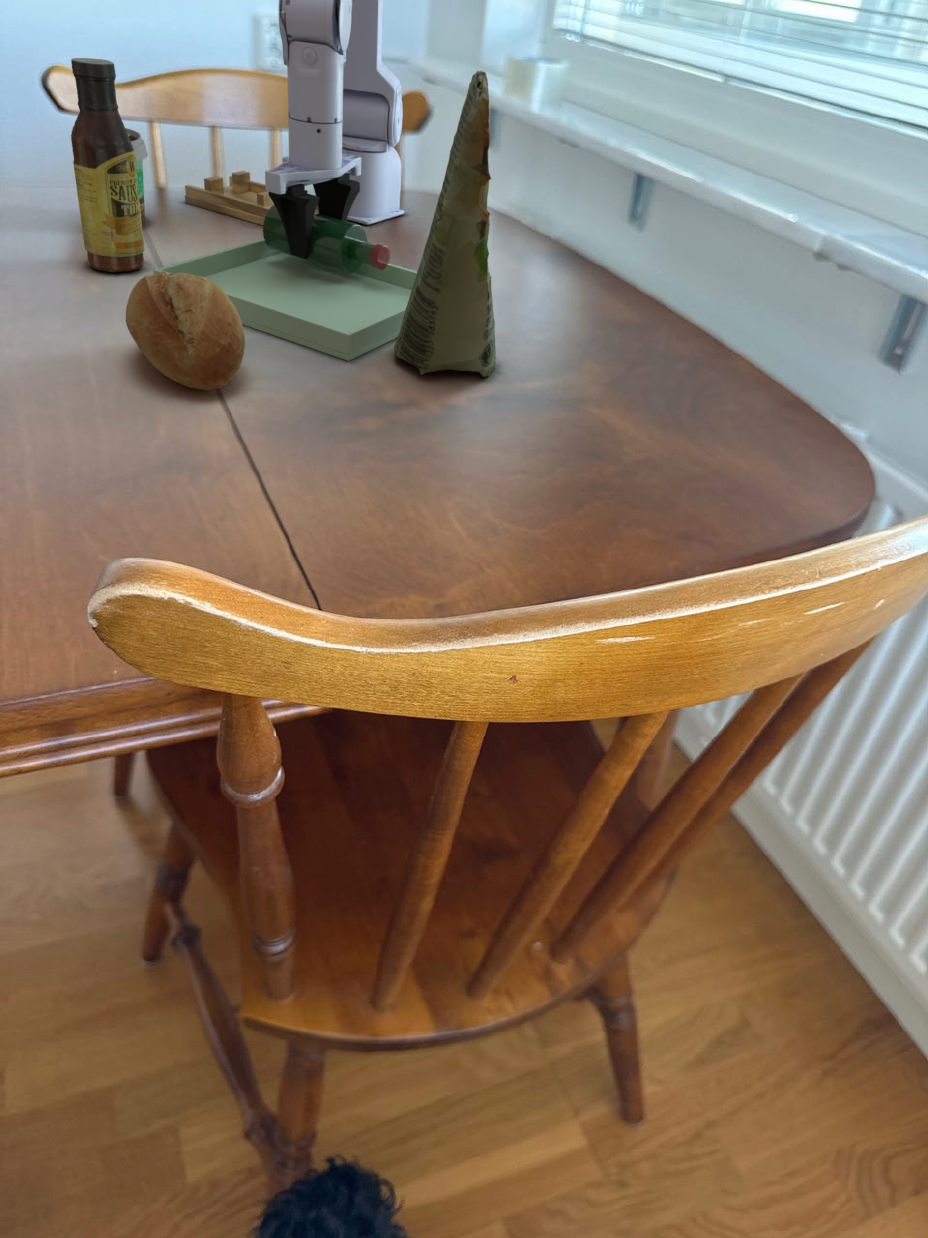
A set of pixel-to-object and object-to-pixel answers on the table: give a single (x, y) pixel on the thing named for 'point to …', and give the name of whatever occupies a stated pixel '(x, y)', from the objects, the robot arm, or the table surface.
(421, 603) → the table surface
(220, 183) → the rack
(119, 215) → the sauce bottle
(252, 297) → the tray
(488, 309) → the olive green tall cone
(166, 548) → the table surface
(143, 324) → the bread roll
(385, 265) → the bottle
